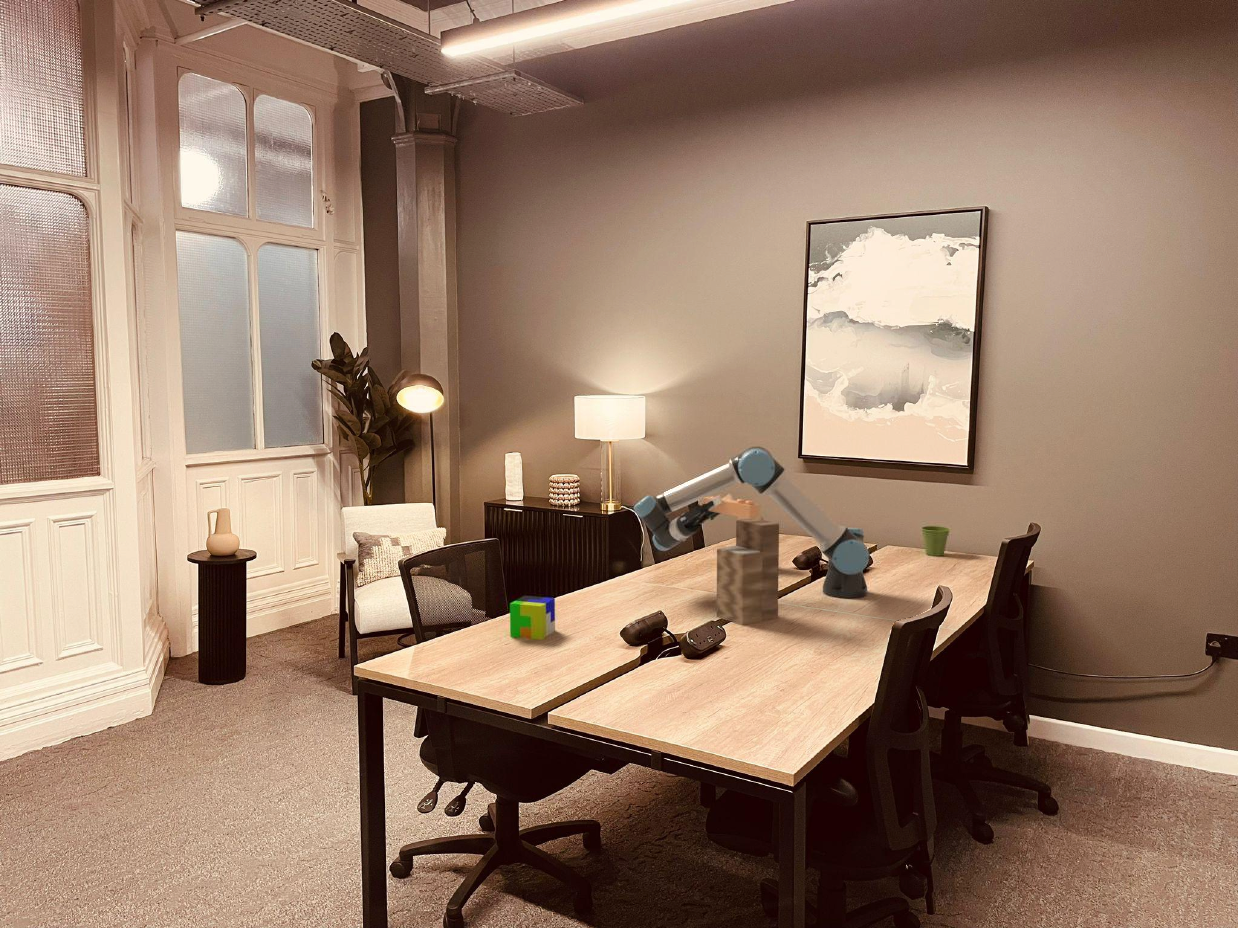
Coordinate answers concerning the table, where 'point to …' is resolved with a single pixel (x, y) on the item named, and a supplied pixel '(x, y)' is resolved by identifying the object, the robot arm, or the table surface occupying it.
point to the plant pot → (935, 539)
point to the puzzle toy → (532, 617)
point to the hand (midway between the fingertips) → (726, 498)
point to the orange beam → (736, 508)
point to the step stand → (749, 573)
